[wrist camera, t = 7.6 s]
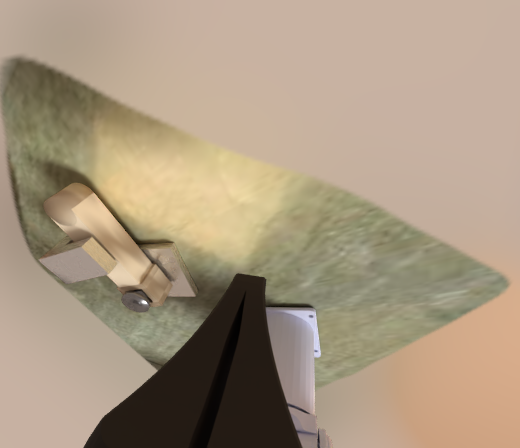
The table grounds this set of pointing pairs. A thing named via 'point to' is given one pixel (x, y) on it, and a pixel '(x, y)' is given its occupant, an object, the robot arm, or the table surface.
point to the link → (107, 240)
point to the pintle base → (172, 269)
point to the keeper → (78, 260)
